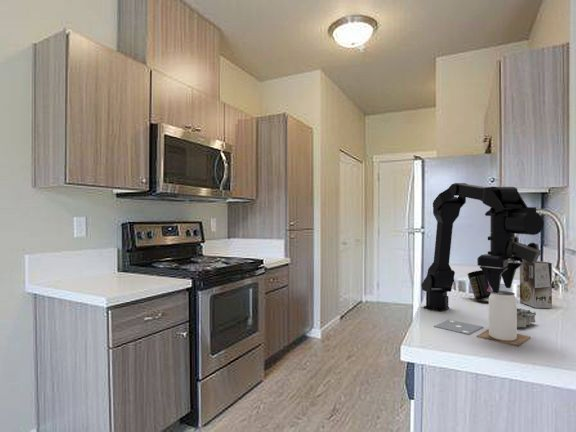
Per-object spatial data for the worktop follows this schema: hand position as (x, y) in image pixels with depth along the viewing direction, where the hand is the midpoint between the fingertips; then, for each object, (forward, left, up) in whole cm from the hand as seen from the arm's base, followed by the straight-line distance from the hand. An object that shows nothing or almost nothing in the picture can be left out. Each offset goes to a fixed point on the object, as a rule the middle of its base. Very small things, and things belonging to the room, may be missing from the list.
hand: (502, 290), depth 99 cm
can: (+1, -2, -12) cm, 13 cm away
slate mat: (-12, -1, -13) cm, 17 cm away
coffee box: (-5, +49, -13) cm, 50 cm away
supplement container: (-21, +41, -13) cm, 48 cm away
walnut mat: (0, 0, -13) cm, 13 cm away
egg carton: (+2, +17, -14) cm, 22 cm away
